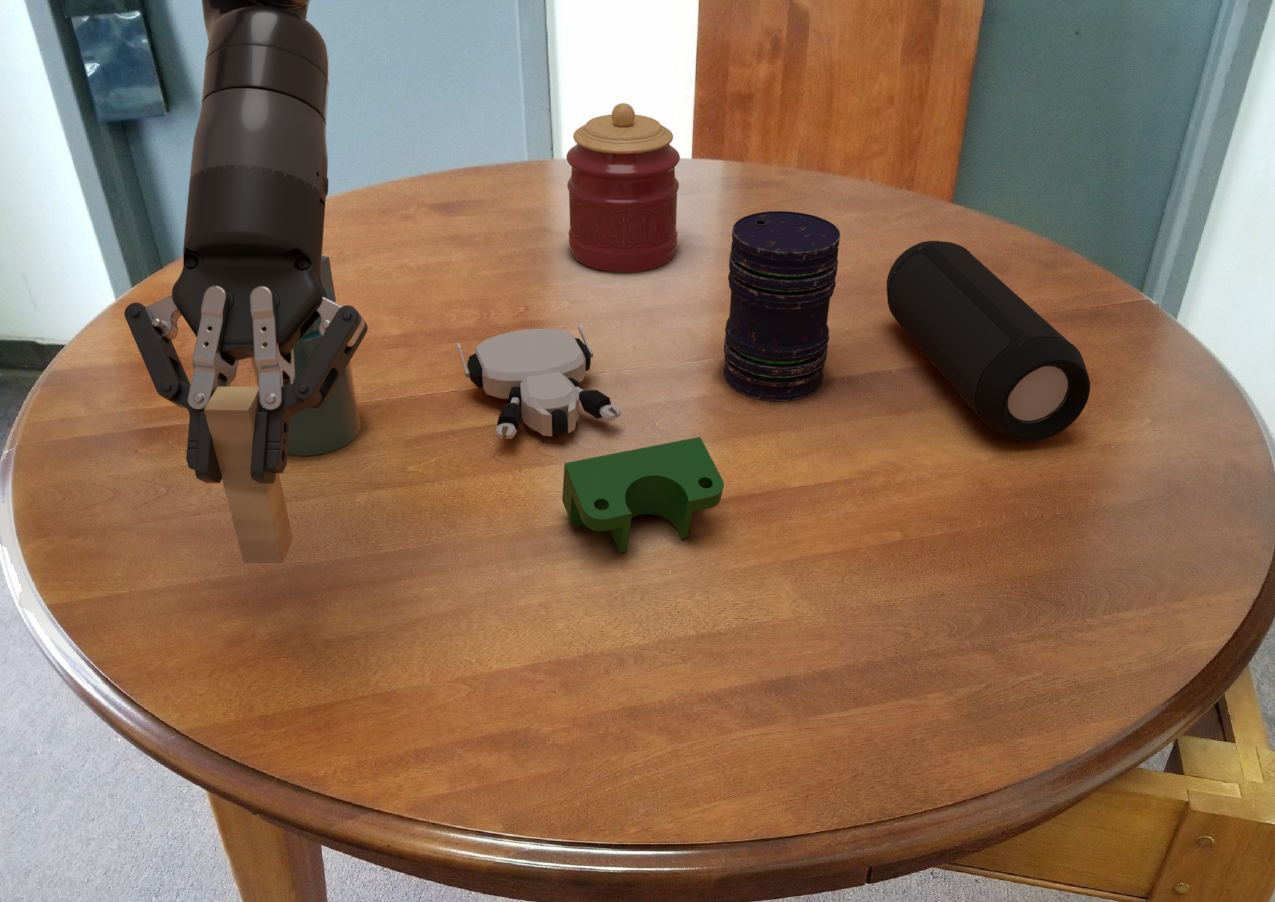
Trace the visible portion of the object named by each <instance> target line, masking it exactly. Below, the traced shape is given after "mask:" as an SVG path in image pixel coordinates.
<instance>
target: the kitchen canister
mask: <svg viewBox="0 0 1275 902" xmlns="http://www.w3.org/2000/svg"><path fill="white" fill-rule="evenodd" d="M572 137H573V140H574V142H575V143H576V144H575V145H574V146H572V147H571V148H570V149H569V150H568V151H567V153H566V161H567V163H568V165H570V167H571V174H570V177H569V178H568V180H567V184H566V186H567V187H566V188H567V190H568V203H569V207H568V208H569V230H568V243H569V246H570V250H571V251H570V252H571V255H572V256H573V258H574V259H575V260H576V261H578V262H579V263H581V265H585V266H587V267H590V268H593V269H596V270H600V271H607V272H617V273H618V272H619V273H625V272H626V273H630V272H641V271H647V270H650V269H654V268H657V267H660V266H662V265H664V264H666V263H667V262H669V261H671V259H672V258H673V257H674V255H675V252H676V247H677V246H678V245H677V244H678V230H677V209H678V191H679V187H680V183H679V181H678V178H677V177H676V166H677V165H678V164H679V163H680V160H681V155H680V153H679V151H678V150H677V149H676V148H675V147H674V146H672V145H671V143H672V142H673V140H674V134H673V132H672V131H671V129H669V128H668V127H666V126H664V125H662V124H661V123H660V122H659V121H658V120H657V119H656V118H652V117H650V116H646V115H642V114H636V113H635V109H634V108H633V106H632V105H630V104H628V103H625V102H621V103H617V104H616V105H615V106H614V107H613V109H612V111H611V114H605V115H600V116H596V117H593V118H591V119H589V120H588V121H587V122H586V123H585V124H584V125H582V126H580V127H578V128H577V129H576V130H575V131H574V132H573V136H572Z"/></svg>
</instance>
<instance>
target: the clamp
mask: <svg viewBox="0 0 1275 902" xmlns="http://www.w3.org/2000/svg"><path fill="white" fill-rule="evenodd" d="M724 487H725V483H724V480H723V478H722V476H721V474H720V472H719V470H718V468H717V466H716V464H715V462H714V460H713V459H712V456H711V455H710V453H709V451H708V449H707V447H706V445H705V444H704V441H703V439H702V438H701V436H697V437H692V438H687V439H682V440H676V441H672V442H667V443H660V444H655V445H650V446H646V447H640V448H636V449H630V450H624V451H620V452H614V453H609V454H603V455H600V456H594V457H588V458H584V459H579V460H574V461H573V460H572V461H569V462H568V461H567V462H564V467H563V482H562V496H561V501H562V504H563V506H564V509H565V511H566V514H567V516H568V519H569V522H570V523H571V525H573V526H575V527H578V528H584V527H586V528H588V529H589V530H591V531H595V532H607V531H610V534H611V536H612V539H613V541H614V543H615V546H616V548H617V550H618V553H619V554H622V553H627V551H628V544H629V537H630V531H631V525H632V518H634V517H637V516H641V515H655V516H659V517H662V518H664V519H666V520H667V521H669V522H670V523H672V524H673V526H674V527H675V528H676V529H677V531H678V533H679V538H680V540H685V539H688V538H689V532H690V527H691V523H692V517H693V513H695V512H699V511H703V510H708V509H712V508H714V507H717V506H718V504H720V502H721V499H722V495H723V491H724Z"/></svg>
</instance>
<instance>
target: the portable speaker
mask: <svg viewBox="0 0 1275 902" xmlns="http://www.w3.org/2000/svg"><path fill="white" fill-rule="evenodd" d="M886 299H887V306H888V309H889V312H890V314H891V315H892V317H893V318H894V320H895V321H896V322H897V324H898V325H899V326H900V327H901V329H902V330H904V332H905V333H906V334H907V335H908V336H909V337H910V339H911V340H912V341H913V342H914V343H915V344H916V346H917V347H918V348H919V349H920V350H921V352H922V353H923V354H924V355H925V356H926V357H927V358H928V360H929V361H930V363H932V364H933V366H935V368H936V369H937V370H938V371H939V372H940V373H941V375H942V376H943V377H944V378H945V379H946V380H947V382H948V383H949V384H950V385H951V386H952V387H953V389H954V390H955V391H956V392H957V393H958V395H959V396H960V397H961V398H962V399H963V400H964V401H965V402H966V404H967V405H968V406H969V407H970V408H971V409H972V411H973V412H974V413H975V414H976V415H977V416H978V418H979V419H980V420H981V421H982V422H983V423H984V424H985V425H986V426H987V427H988V429H990V430H992V431H994V432H996V433H998V434H1001V435H1003V436H1007V437H1008V438H1011V439H1015V440H1018V441H1021V442H1039V441H1040V442H1041V441H1044V440H1047V439H1050V438H1053V437H1054V436H1057V435H1058V434H1059V433H1061V432H1063V431H1064V430H1066V429H1068V428H1069V427H1070V426H1071V425H1072V424H1073V423H1074V422H1075V421H1076V420H1077V419H1078V418H1079V417H1080V416H1081V414H1082V412H1083V411H1084V409H1085V408H1086V405H1087V403H1088V400H1089V397H1090V392H1091V381H1090V377H1089V373H1088V369H1087V366H1086V362H1085V361H1084V358H1083V356H1082V353H1081V351H1080V350H1079V349H1078V348H1077V347H1076V346H1075V345H1074V344H1073V343H1072V342H1070V341H1069V340H1068V339H1066V337H1065V336H1063V334H1062V333H1060V332H1059V331H1058V330H1057V329H1056V328H1055V327H1054V326H1052V325H1051V324H1050V323H1049V322H1048V321H1047V320H1046V319H1044V317H1042V316H1041V315H1040V314H1039V313H1038V312H1037V311H1036V310H1034V308H1032V307H1031V306H1030V305H1029V304H1028V303H1027V302H1025V300H1024V299H1022V298H1021V297H1020V296H1019V295H1018V294H1017V293H1016V292H1015V291H1013V289H1011V288H1010V287H1009V286H1007V284H1006V283H1005V282H1004V281H1002V280H1001V279H1000V278H999V277H998V276H997V275H996V274H994V272H993V271H991V270H990V269H989V268H988V267H987V266H986V265H984V264H983V263H982V262H981V261H980V260H979V259H978V258H977V257H976V256H974V255H973V254H972V253H971V251H970V250H968V249H967V248H966V247H964V246H962V245H960V244H957V243H955V242H951V241H941V240H926V241H922V242H918V243H916V244H914V245H912V246H910V247H908V248H907V249H906V250H904V251H903V252H902V253H901V254H899V256H898V257H897V258H896V259H895V260H894V262H893V264H892V265H891V267H890V269H889V271H888V275H887V278H886Z"/></svg>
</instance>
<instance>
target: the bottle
mask: <svg viewBox="0 0 1275 902" xmlns="http://www.w3.org/2000/svg"><path fill="white" fill-rule="evenodd" d="M330 261H331V260H330V257H329V256H325V255H322V262H321V273H320V279H321V283H322V286H323V288H324V290H325V291H326V294H327V299H329V300H331V301H333V302H335V303H337V302H336V301H337V299H336V293H335V291H336V290H335V285H334V279H333V274H332V267H331V262H330ZM320 322H321V316H320V317H319V318H318V320H317V321H316V322H315V323H314V324H313V326H312V327H311V328H310V329H309V330H308V332H307V333H306V334H305V335H304V336H303V338H302V339H301V340H300V341H299V342H298V344H297V345H296V346H295V347H294V348H293V351H294V368H295V378H294V379H293V384H294V383H295V382H296V380H297V378H298V377H299V375H300V373H301V371H302V370H303V368H304V366H305V365H306V363H307V361H308V360H309V358H310V356H311V355H312V353H313V351H314V350H315V348H316V346H317V345H318V343H319V341H320V340H321V338H322V335H321V334H320V332H319V325H320ZM249 359H250V363H251V367H252V372H253V377H254V382H255V387H259V379H258V370H257V368H256V365H255V358H254V357H250V358H249ZM358 405H359V404H358V399H357V393H356V387H355V381H354V376H353V368H352V362H351V360H350V362H349V363H348V365H347V367H346V368H345V370H344V372H343V374H342V375H341V377H340V379H339V380H338V382H337V384H336V385H335V387H334V389H333V390H332V392H331V394H330V396H329V397H328V399H327V401H326V402H325V404H324V405H323V406H322V407H321V408H319V409H311V408H309V409H306V410H303V411H300V412H297V413H296V414H295V415H294V416H293V417H292V418H291V420H290V425H289V439H288V454H287V455H289V456H290V455H291V456H297V457H309V456H311V457H312V456H319V455H324V454H328V453H331V452H334V451H337V450H339V449H341V448H343V447H345V446H347V445H348V444H350V443H351V442H352V441H353V440H354V439H355V438H356V437H357V436H358V435H359V433H360V431H361V428H362V427H361V420H360V413H359V406H358Z"/></svg>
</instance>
